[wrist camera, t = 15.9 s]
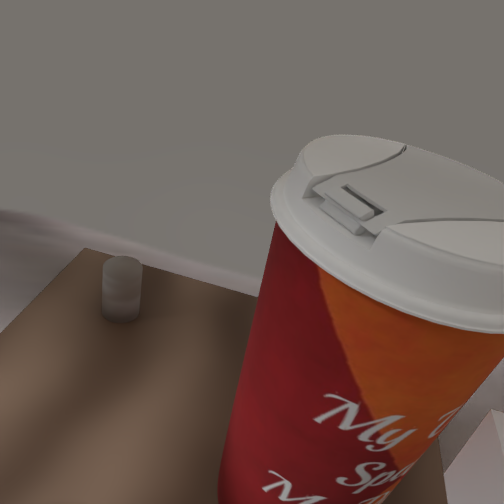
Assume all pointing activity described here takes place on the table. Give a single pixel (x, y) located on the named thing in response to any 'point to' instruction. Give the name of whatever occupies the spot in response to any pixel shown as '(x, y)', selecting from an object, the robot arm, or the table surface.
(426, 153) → the paper cup
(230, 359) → the peg holder
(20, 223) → the table surface
